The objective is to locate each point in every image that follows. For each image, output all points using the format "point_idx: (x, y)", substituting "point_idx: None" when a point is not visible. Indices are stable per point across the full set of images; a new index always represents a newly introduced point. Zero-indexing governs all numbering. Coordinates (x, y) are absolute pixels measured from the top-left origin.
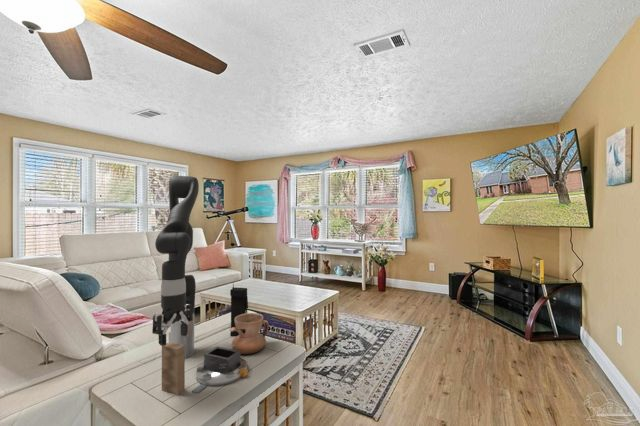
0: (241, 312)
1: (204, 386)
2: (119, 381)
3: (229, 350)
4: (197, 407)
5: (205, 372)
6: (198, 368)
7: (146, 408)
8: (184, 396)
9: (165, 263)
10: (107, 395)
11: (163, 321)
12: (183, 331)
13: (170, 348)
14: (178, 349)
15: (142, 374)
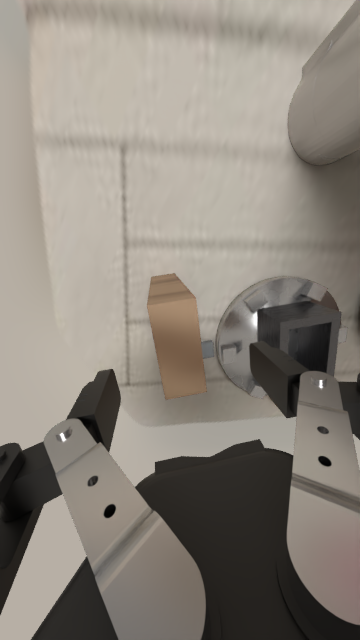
0: None
1: (209, 355)
2: (101, 91)
3: (327, 366)
4: (157, 393)
5: (246, 326)
6: (247, 304)
7: (92, 315)
8: None
9: None
10: (44, 153)
11: (91, 510)
12: (262, 373)
13: (158, 360)
14: (171, 396)
15: (169, 125)
